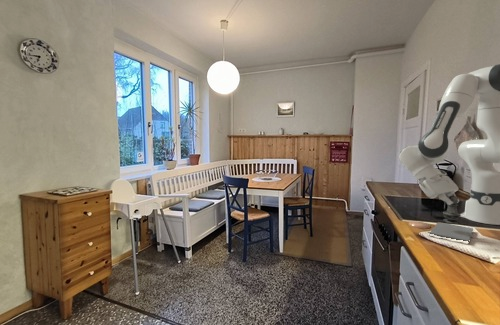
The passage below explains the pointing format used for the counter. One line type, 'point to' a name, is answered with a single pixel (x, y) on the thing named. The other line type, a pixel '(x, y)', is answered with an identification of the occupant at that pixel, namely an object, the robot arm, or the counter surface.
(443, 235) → the slate board
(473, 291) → the counter surface
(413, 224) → the peach domed round part
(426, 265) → the counter surface
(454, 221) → the black rounded upright piece
